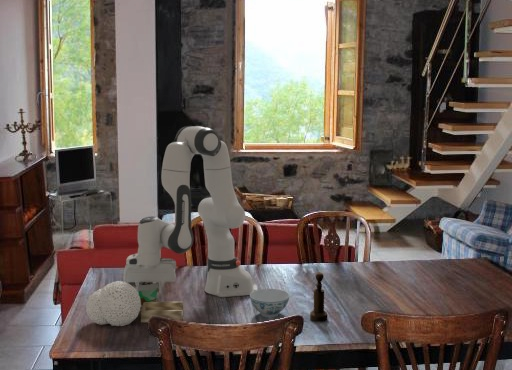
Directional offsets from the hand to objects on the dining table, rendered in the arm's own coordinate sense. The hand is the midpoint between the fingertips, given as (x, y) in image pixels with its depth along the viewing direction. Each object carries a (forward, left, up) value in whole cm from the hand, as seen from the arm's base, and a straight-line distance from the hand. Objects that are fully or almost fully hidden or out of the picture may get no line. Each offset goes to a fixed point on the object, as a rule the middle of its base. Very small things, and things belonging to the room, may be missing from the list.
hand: (149, 292), depth 271 cm
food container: (0, 0, -6) cm, 6 cm away
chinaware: (-46, +12, -6) cm, 48 cm away
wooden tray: (-6, +13, -6) cm, 15 cm away
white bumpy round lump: (+11, +19, -6) cm, 23 cm away
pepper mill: (-64, +18, -6) cm, 67 cm away
